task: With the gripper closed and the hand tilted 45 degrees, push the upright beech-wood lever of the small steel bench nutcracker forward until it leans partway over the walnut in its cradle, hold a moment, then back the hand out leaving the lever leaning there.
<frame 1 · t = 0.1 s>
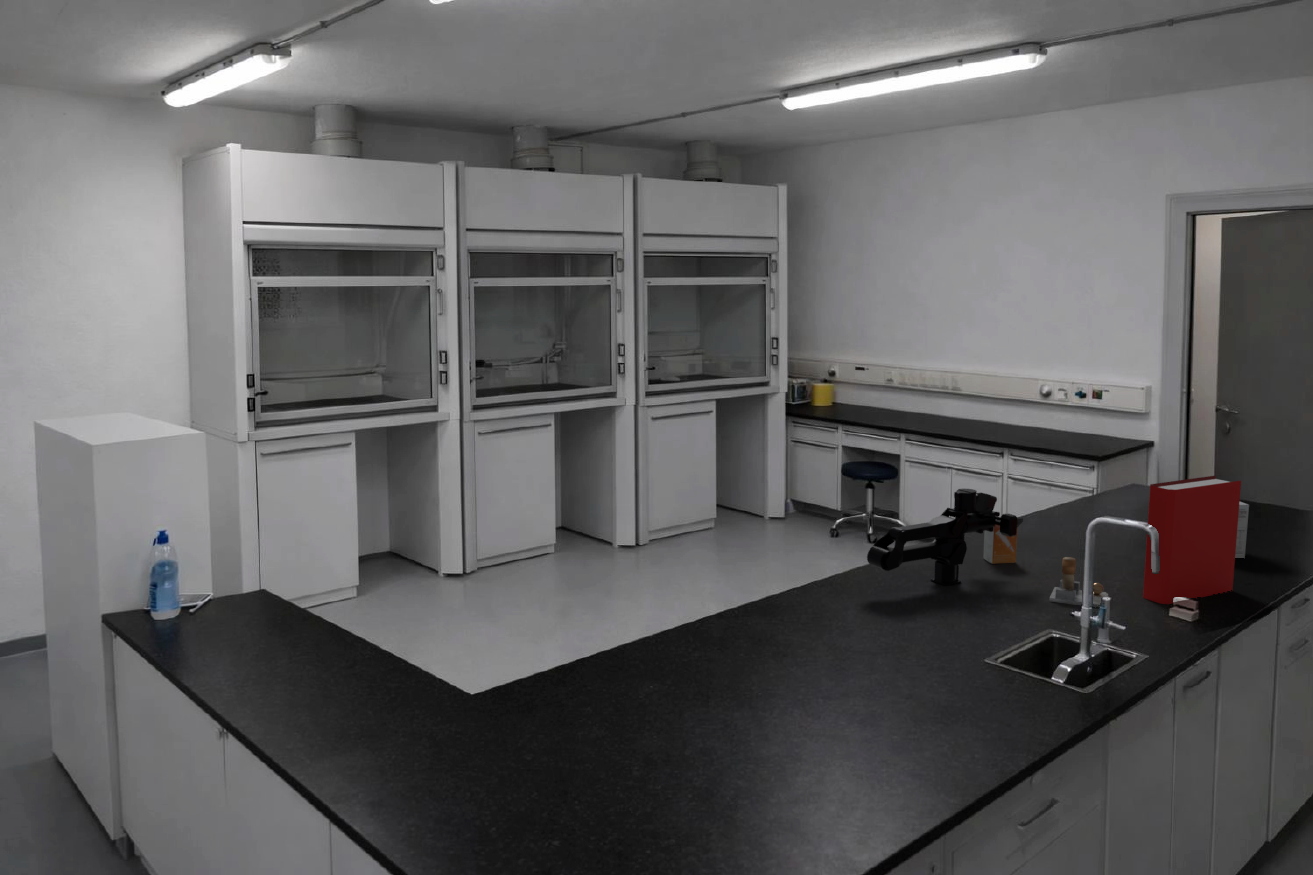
hand: (1010, 516, 306), 17 cm above the worktop, tool horizontal, fingers open, 9 cm apart
nutcracker base: (1067, 597, 281), on the worktop
book: (1186, 594, 283), on the worktop
lever: (1068, 575, 280), point 6 cm above the worktop, hinge at 0.0°
supplement box: (1213, 554, 323), on the worktop
small box: (999, 561, 318), on the worktop
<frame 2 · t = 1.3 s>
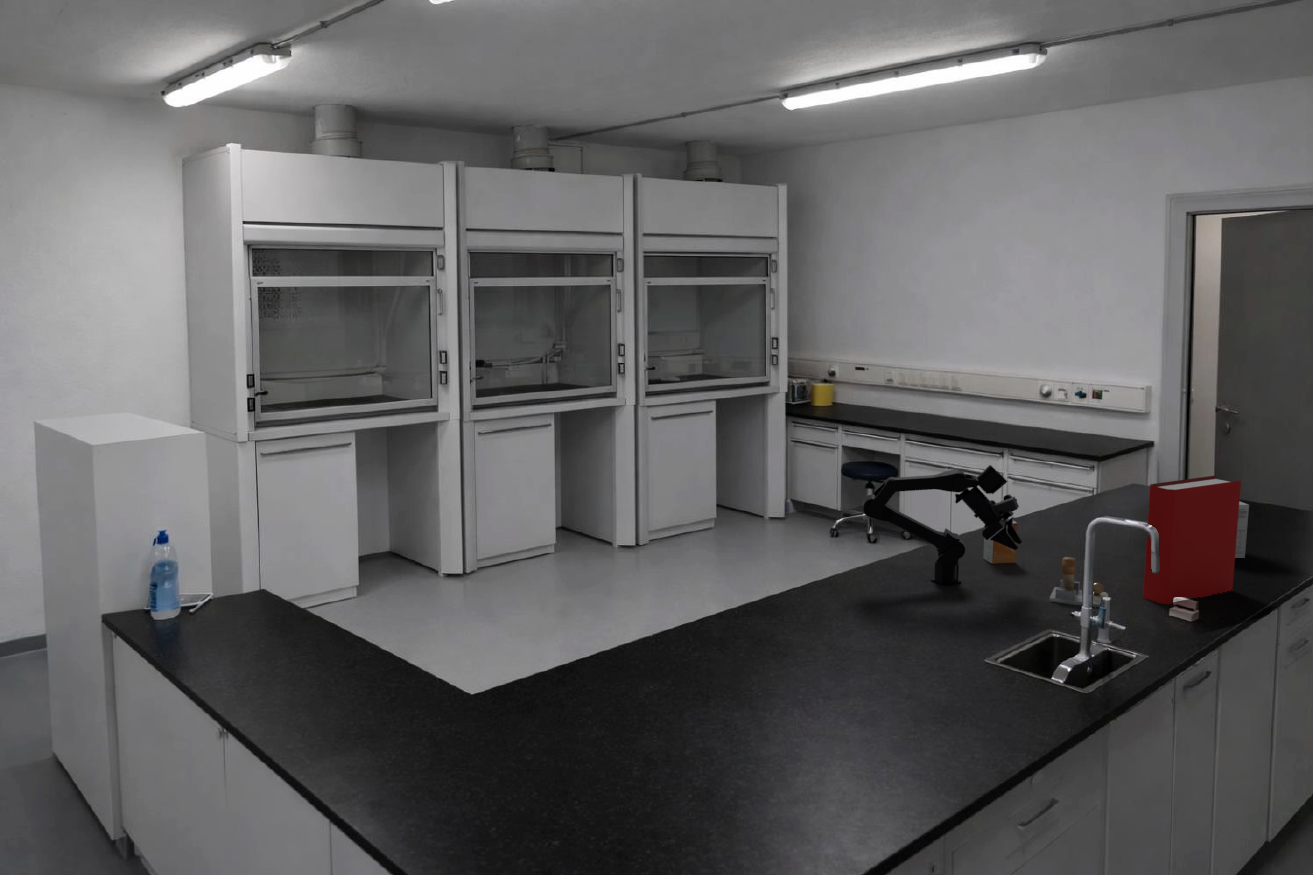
hand: (1018, 546, 288), 13 cm above the worktop, tool tilted 45°, fingers open, 7 cm apart
nothing on the worktop moved.
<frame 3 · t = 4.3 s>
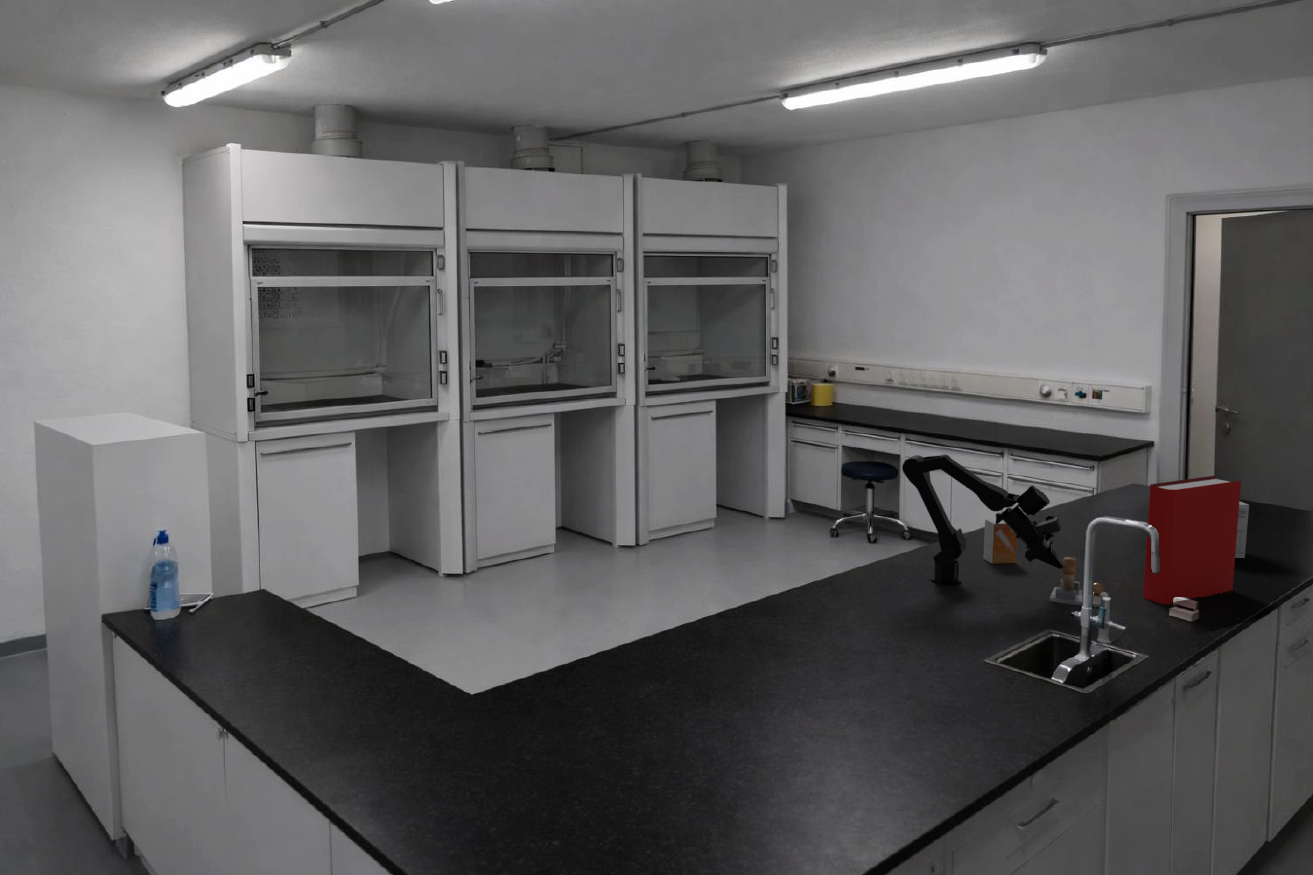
hand: (1061, 567, 281), 8 cm above the worktop, tool tilted 45°, fingers closed, pressing on lever
lever: (1068, 575, 280), point 6 cm above the worktop, hinge at 1.0°, touching gripper
everything else where it was.
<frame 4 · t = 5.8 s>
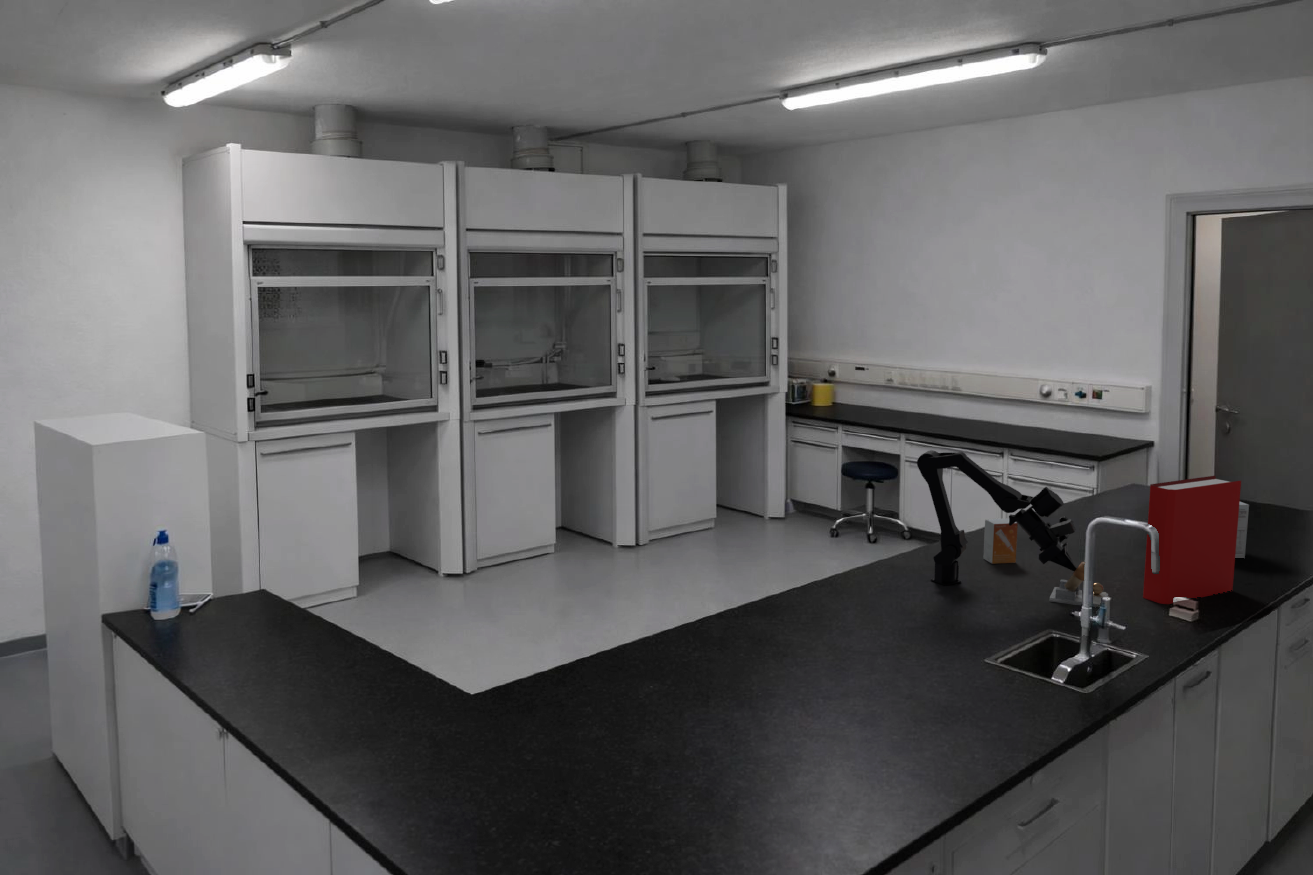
hand: (1075, 570, 279), 8 cm above the worktop, tool tilted 45°, fingers closed, pressing on lever
lever: (1076, 578, 279), point 6 cm above the worktop, hinge at 31.9°, touching gripper
everything else where it was.
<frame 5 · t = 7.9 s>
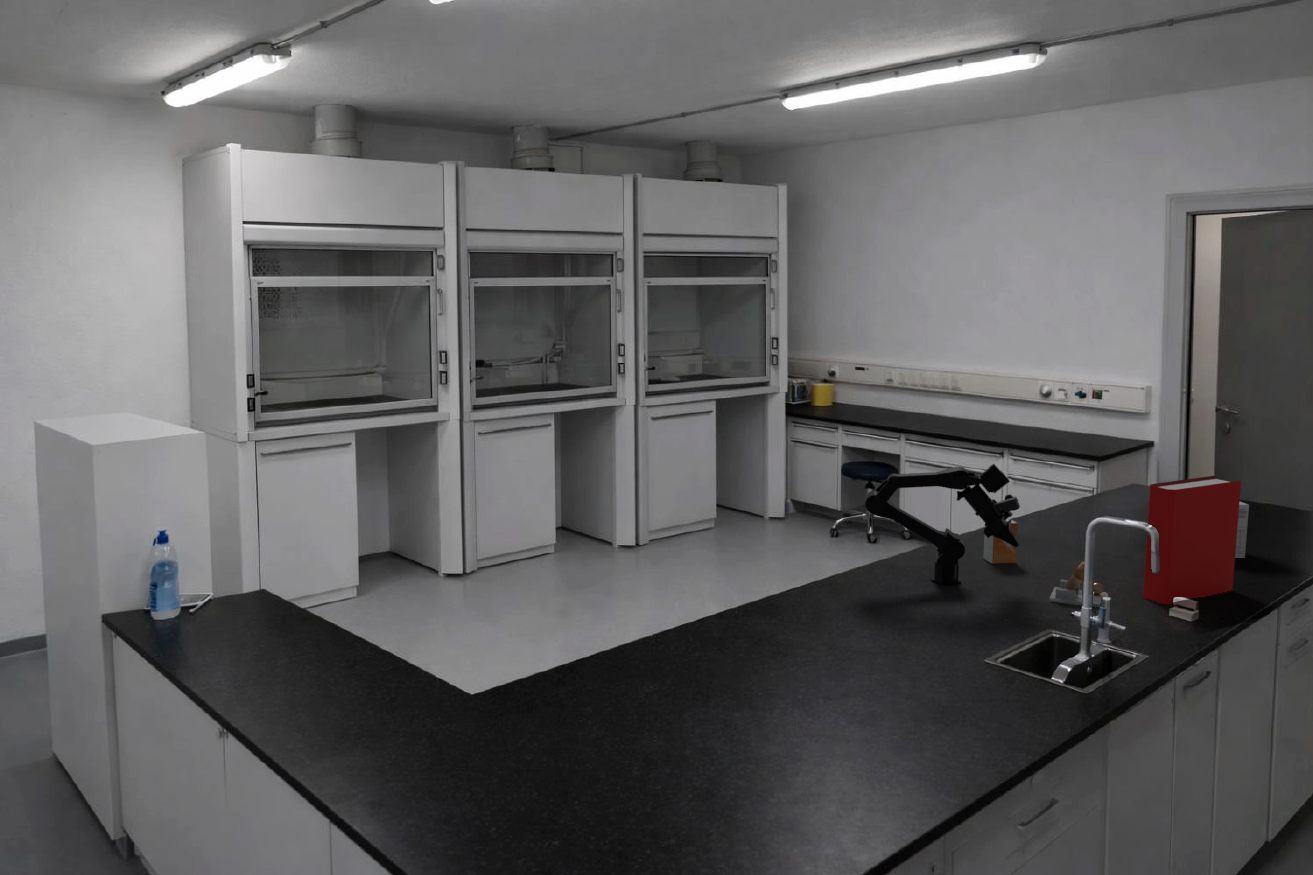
hand: (1017, 546, 288), 13 cm above the worktop, tool tilted 40°, fingers closed
lever: (1076, 578, 279), point 6 cm above the worktop, hinge at 31.9°
everything else where it was.
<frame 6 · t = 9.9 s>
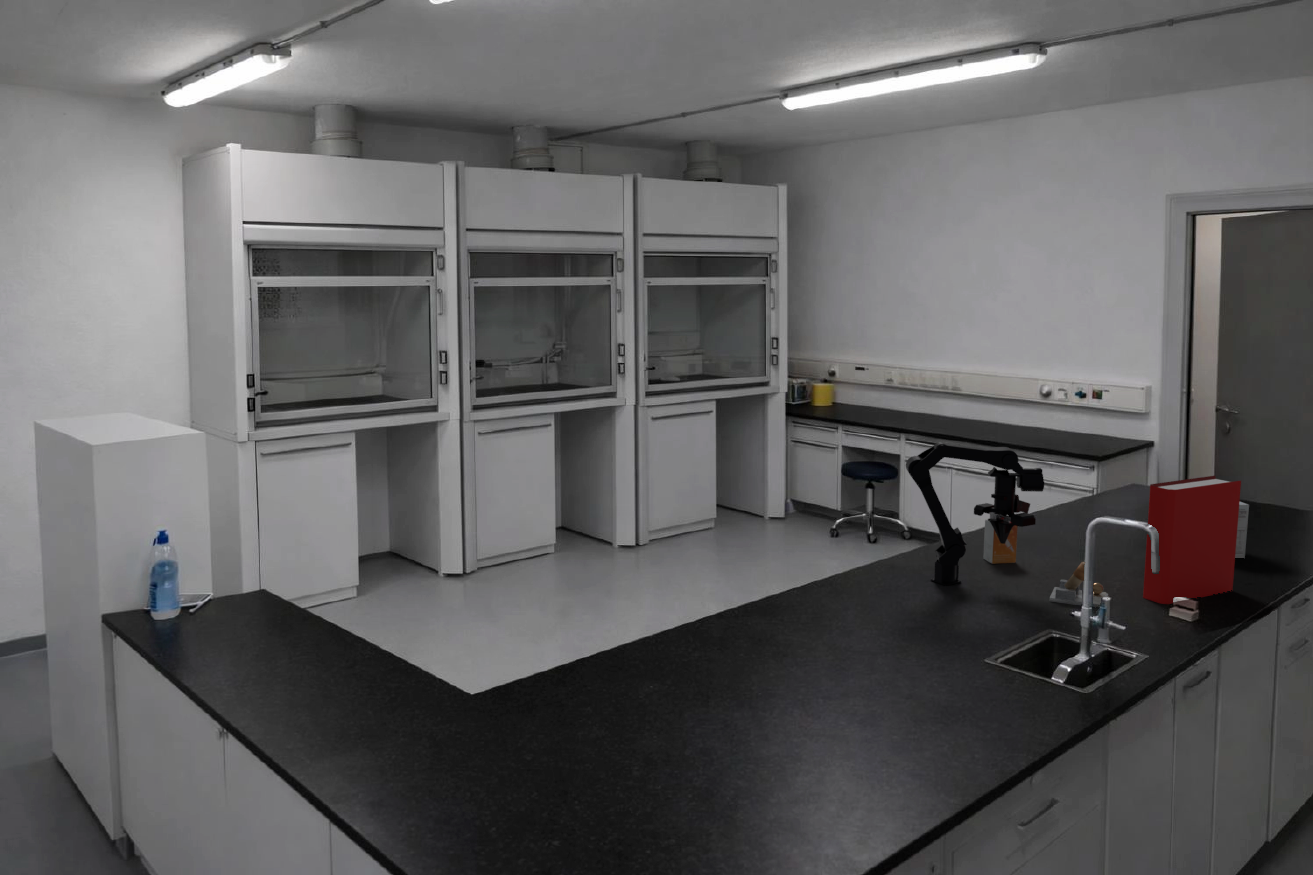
hand: (1002, 543, 294), 12 cm above the worktop, tool pointing down, fingers closed
nothing on the worktop moved.
at the end: lever at +32° (first picture: +0°) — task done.
